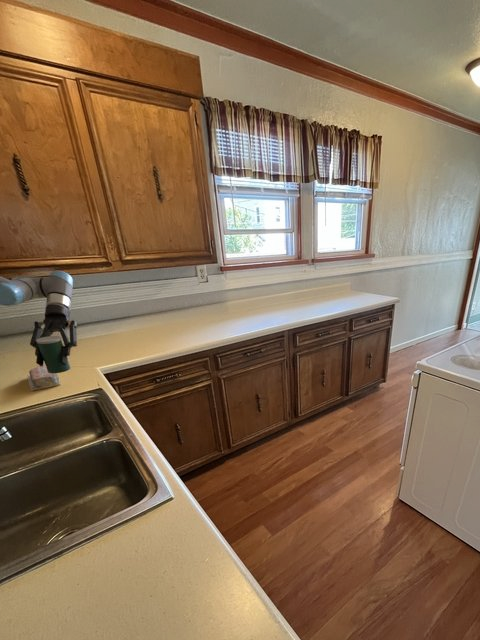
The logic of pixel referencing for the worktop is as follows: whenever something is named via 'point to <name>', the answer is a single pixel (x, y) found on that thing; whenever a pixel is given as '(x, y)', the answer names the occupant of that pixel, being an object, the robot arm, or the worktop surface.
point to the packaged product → (42, 378)
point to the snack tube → (52, 353)
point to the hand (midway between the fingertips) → (51, 363)
